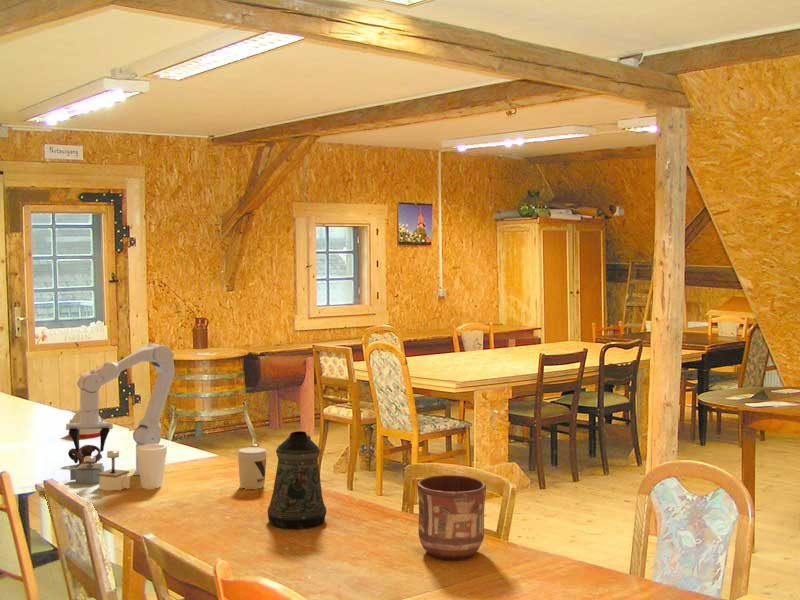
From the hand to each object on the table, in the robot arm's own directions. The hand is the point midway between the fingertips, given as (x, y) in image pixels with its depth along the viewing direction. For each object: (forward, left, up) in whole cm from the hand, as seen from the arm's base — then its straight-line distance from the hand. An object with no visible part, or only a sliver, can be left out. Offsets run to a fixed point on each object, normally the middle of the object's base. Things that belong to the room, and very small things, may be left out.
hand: (89, 451), depth 313 cm
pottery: (-104, +87, -10) cm, 136 cm away
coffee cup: (-53, +13, -10) cm, 55 cm away
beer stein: (-66, +53, -10) cm, 85 cm away
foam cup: (-21, +10, -10) cm, 25 cm away
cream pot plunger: (-9, +10, -5) cm, 15 cm away
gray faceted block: (0, 0, -10) cm, 10 cm away
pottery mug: (+6, -24, -10) cm, 27 cm away
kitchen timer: (+16, -81, -10) cm, 83 cm away
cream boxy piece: (-9, +10, -10) cm, 17 cm away
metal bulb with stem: (0, 0, -9) cm, 9 cm away
